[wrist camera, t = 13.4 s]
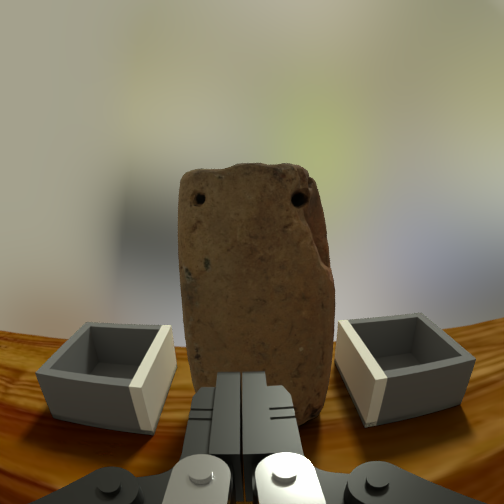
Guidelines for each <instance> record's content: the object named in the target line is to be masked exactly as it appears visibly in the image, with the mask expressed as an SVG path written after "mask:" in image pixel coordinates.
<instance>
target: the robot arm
mask: <svg viewBox="0 0 504 504" xmlns="http://www.w3.org/2000/svg"><path fill="white" fill-rule="evenodd" d="M243 464H244V479H245V493H246V501H253V504H486V503H484V502H481V501H478V500H475V499H472V498H470V497H467V496H464V495H462V494H459V493H456V492H454V491H451V490H449V489H446V488H444V487H441V486H439V485H437V484H434V483H432V482H430V481H427V480H425V479H423V478H421V477H418V476H416V475H414V474H412V473H410V472H407V471H405V470H403V469H401V468H399V467H397V466H395V465H393V464H390V463H387V462H383V461H371V462H366V463H364V464H361V465H359V466H358V467H356V468H355V469H354V470H353V471H352V472H351V474H343V473H333V472H326V471H323V470H320V469H318V468H316V467H314V466H313V465H312V464H311V462H310V461H309V460H308V459H306V458H305V456H304V454H303V450H302V445H301V440H300V436H299V431H298V426H297V421H296V418H295V412H294V409H293V403H292V398H291V394H290V393H289V392H288V391H287V390H286V389H285V388H284V387H283V386H282V385H278V386H267V385H266V376H265V371H250V372H242V394H241V374H240V372H218V373H217V380H216V387H201V388H200V389H199V390H198V392H197V393H196V394H195V395H194V396H193V399H192V404H191V411H190V414H189V420H188V424H187V429H186V434H185V439H184V445H183V450H182V455H181V458H180V460H179V462H178V463H177V464H176V465H175V466H174V467H173V468H172V469H170V470H169V471H167V472H164V473H162V474H158V475H152V476H145V477H137V478H135V476H134V475H133V474H132V473H130V472H129V471H127V470H125V469H122V468H119V467H104V468H100V469H98V470H95V471H94V472H92V473H90V474H88V475H86V476H84V477H82V478H81V479H79V480H77V481H75V482H73V483H71V484H69V485H67V486H65V487H63V488H61V489H59V490H57V491H55V492H53V493H51V494H49V495H47V496H44V497H42V498H40V499H38V500H36V501H34V502H31V503H29V504H236V501H244V488H243Z"/></svg>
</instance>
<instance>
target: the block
mask: <svg viewBox="0 0 504 504" xmlns="http://www.w3.org/2000/svg"><path fill="white" fill-rule="evenodd" d="M178 255H179V272H180V285H181V297H182V308H183V322H184V331H185V340H186V347H187V355H188V361H189V365H190V371H191V377H192V382H193V385H194V389H195V392H196V393H197V392H198V390H199V389H200V388H201V387H216V380H217V373H218V372H240V374H241V394H242V372H250V371H265V376H266V385H267V386H278V385H282V386H283V387H284V388H285V389H286V390H287V391H288V392H289V393H290V394H291V398H292V403H293V409H294V412H295V418H296V421H297V426H299V425H301V424H303V423H305V422H306V421H307V420H309V419H313V418H315V417H317V416H318V415H319V413H320V412H321V410H322V408H323V406H324V402H325V398H326V394H327V390H328V384H329V378H330V371H331V362H332V352H333V338H334V318H335V287H334V280H333V275H332V271H331V268H330V258H329V246H328V242H327V231H326V224H325V218H324V212H323V208H322V205H321V200H320V196H319V192H318V189H317V186H316V182H315V181H314V179H312V178H311V177H309V173H308V171H307V170H305V169H304V168H303V167H301V166H299V165H293V164H288V163H287V164H286V163H282V164H278V165H267V164H262V163H241V164H236V165H234V166H231V167H228V168H225V169H195V170H191V171H189V172H186V173H185V174H184V175H183V177H182V179H181V181H180V189H179V202H178Z"/></svg>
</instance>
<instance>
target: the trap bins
mask: <svg viewBox="0 0 504 504" xmlns="http://www.w3.org/2000/svg"><path fill="white" fill-rule="evenodd" d="M475 361H476V359H475V358H474V357H473V356H472V355H471V354H470V353H469V352H467V351H466V350H465V349H464V348H463V347H462V346H460V345H459V344H458V343H457V342H456V341H455V340H453V339H452V338H451V337H450V336H449V335H447V334H446V333H445V332H444V331H443V330H441V329H440V328H439V327H438V326H437V325H435V324H434V323H433V322H432V321H430V320H429V319H428V318H427V317H426V316H424V315H423V314H422V313H414V314H405V315H396V316H386V317H376V318H365V319H354V320H353V319H352V320H339V321H338V332H337V341H336V351H335V361H334V362H335V364H336V366H337V368H338V370H339V373H340V375H341V377H342V379H343V381H344V383H345V385H346V388H347V390H348V392H349V394H350V396H351V398H352V401H353V403H354V405H355V407H356V409H357V412H358V414H359V416H360V418H361V420H362V422H363V425H364V427H371V426H376V425H381V424H386V423H391V422H396V421H400V420H405V419H409V418H413V417H417V416H421V415H425V414H429V413H433V412H436V411H440V410H443V409H447V408H450V407H453V406H457V405H460V404H461V402H462V399H463V396H464V394H465V391H466V388H467V385H468V382H469V379H470V376H471V373H472V370H473V367H474V364H475ZM176 368H177V362H176V356H175V349H174V341H173V335H172V326H171V325H135V324H134V325H133V324H112V323H93V322H86V323H85V324H84V325H83V326H82V327H81V328H80V329H79V330H78V331H77V332H76V333H75V334H74V335H73V336H72V337H70V338H69V339H68V340H67V341H66V342H65V343H64V344H63V345H62V346H61V347H60V348H59V349H58V350H57V351H56V352H55V353H54V354H53V355H52V356H51V357H50V358H49V359H48V360H47V361H46V362H45V363H44V364H43V365H42V366H41V367H40V368H39V370H38V371H37V372H36V376H37V379H38V382H39V384H40V387H41V390H42V392H43V395H44V397H45V400H46V402H47V405H48V407H49V409H50V412H51V414H52V416H53V418H56V419H60V420H64V421H69V422H73V423H78V424H83V425H88V426H93V427H99V428H105V429H111V430H117V431H124V432H131V433H139V434H148V435H154V433H155V430H156V427H157V424H158V421H159V418H160V415H161V412H162V409H163V406H164V403H165V400H166V397H167V394H168V391H169V388H170V385H171V383H172V380H173V377H174V374H175V371H176Z"/></svg>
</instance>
